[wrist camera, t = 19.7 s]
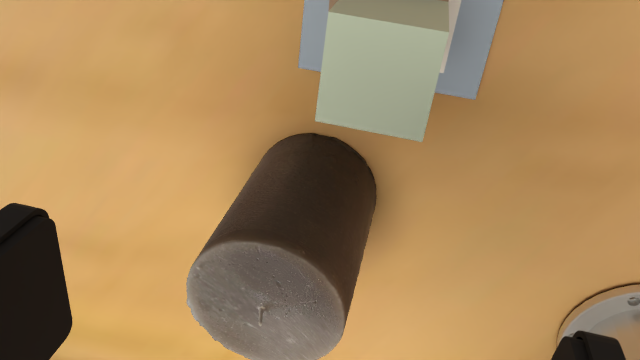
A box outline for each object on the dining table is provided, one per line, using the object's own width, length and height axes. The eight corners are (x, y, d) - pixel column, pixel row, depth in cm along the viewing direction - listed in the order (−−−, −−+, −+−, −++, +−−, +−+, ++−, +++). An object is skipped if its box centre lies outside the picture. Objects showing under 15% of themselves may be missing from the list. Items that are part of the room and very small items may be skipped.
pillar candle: (349, 116, 38) (297, 237, 26) (394, 225, 42) (368, 376, 29) (236, 152, 42) (141, 273, 29) (287, 249, 46) (222, 394, 33)
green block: (448, 1, 26) (449, 32, 21) (426, 95, 29) (422, 142, 24) (350, -15, 27) (328, 11, 22) (337, 78, 30) (315, 121, 25)
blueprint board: (520, -68, 31) (522, -66, 30) (474, 94, 36) (475, 100, 35) (317, -97, 32) (313, -96, 31) (301, 63, 37) (297, 68, 36)
